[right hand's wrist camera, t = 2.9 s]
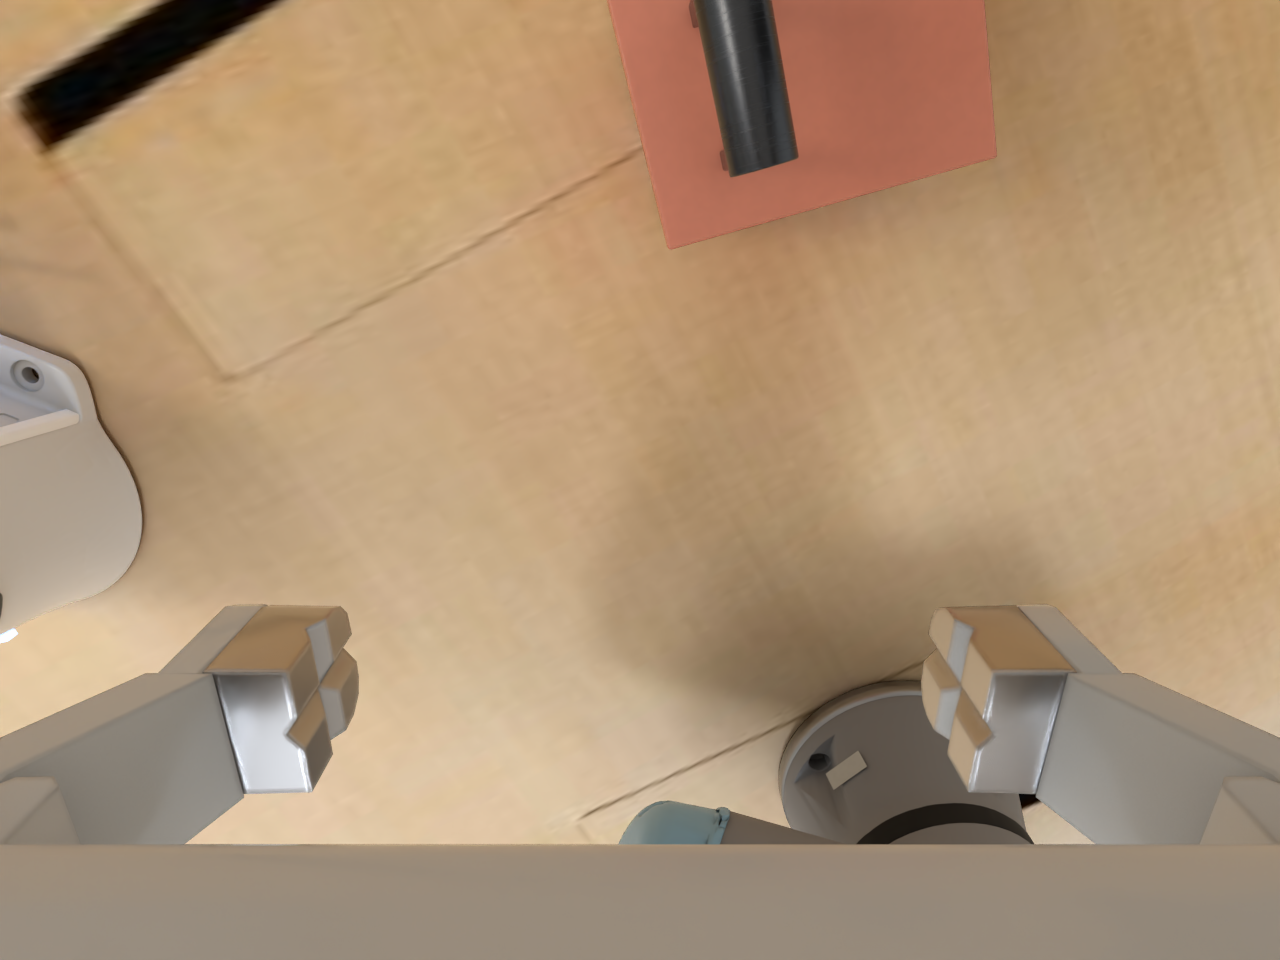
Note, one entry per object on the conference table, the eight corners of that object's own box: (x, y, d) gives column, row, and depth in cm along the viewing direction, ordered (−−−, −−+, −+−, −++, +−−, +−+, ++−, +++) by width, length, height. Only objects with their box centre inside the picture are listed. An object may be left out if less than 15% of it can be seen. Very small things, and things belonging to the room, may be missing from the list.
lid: (667, 248, 28) (682, 270, 20) (598, -35, 25) (584, -139, 17) (984, 158, 27) (1128, 145, 19) (957, -150, 24) (1119, -317, 16)
